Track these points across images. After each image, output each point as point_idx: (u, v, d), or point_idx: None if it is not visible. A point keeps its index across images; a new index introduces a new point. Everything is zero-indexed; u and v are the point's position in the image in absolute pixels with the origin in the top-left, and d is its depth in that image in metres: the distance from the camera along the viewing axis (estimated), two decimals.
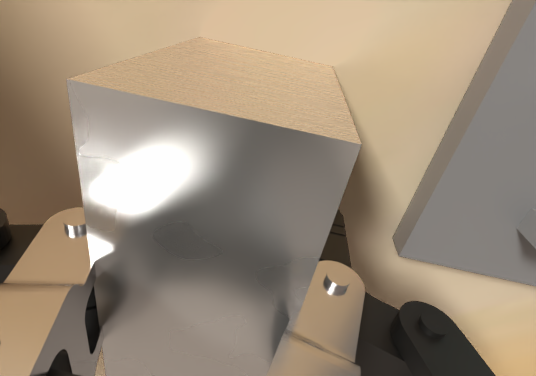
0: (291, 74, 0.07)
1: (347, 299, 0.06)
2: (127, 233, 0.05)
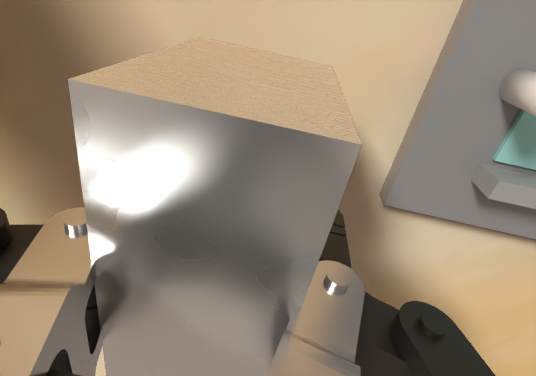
0: (291, 74, 0.07)
1: (347, 299, 0.06)
2: (128, 232, 0.06)
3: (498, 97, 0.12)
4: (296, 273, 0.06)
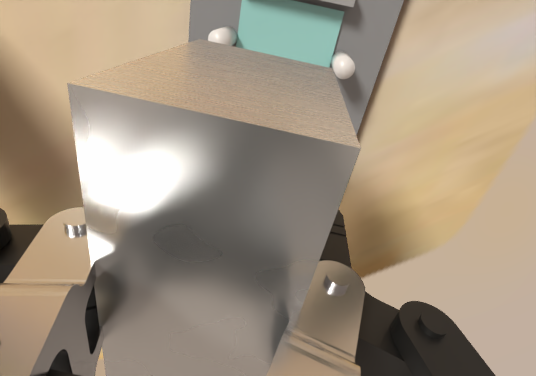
0: (291, 77, 0.07)
1: (347, 299, 0.06)
2: (127, 235, 0.06)
3: None
4: (295, 276, 0.06)
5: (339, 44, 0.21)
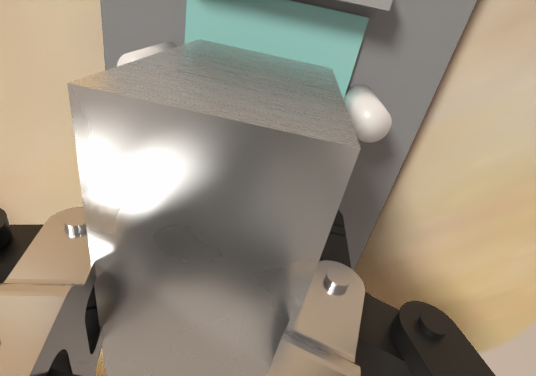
0: (291, 77, 0.07)
1: (347, 299, 0.06)
2: (127, 236, 0.06)
3: None
4: (295, 276, 0.06)
5: (357, 73, 0.12)
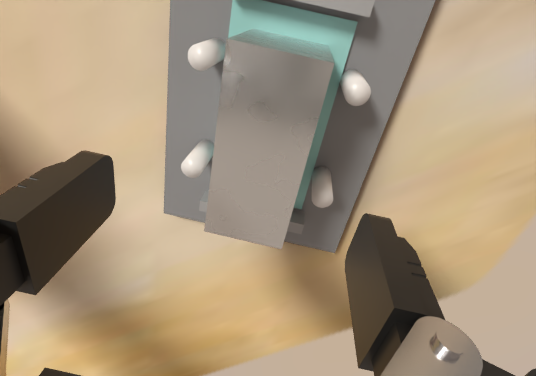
0: (306, 45, 0.15)
1: (466, 369, 0.05)
2: (236, 108, 0.13)
3: None
4: (308, 127, 0.13)
5: (350, 61, 0.17)
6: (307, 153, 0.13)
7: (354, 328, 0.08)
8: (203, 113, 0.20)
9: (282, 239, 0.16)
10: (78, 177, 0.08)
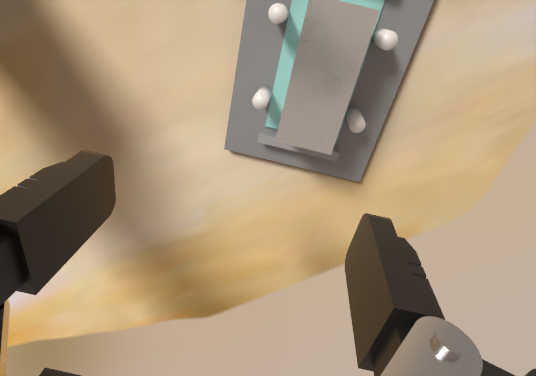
0: None
1: (466, 370, 0.05)
2: (310, 43, 0.19)
3: None
4: (359, 56, 0.19)
5: (380, 22, 0.23)
6: (356, 76, 0.20)
7: (354, 327, 0.08)
8: (265, 63, 0.26)
9: (332, 146, 0.22)
10: (78, 177, 0.08)
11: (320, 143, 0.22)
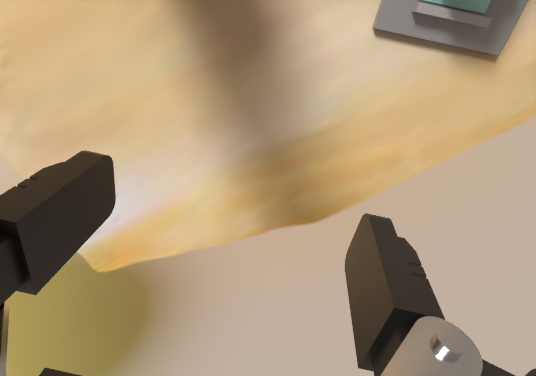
0: None
1: (467, 369, 0.05)
2: None
3: None
4: None
5: None
6: None
7: (354, 327, 0.08)
8: None
9: None
10: (78, 177, 0.08)
11: None
